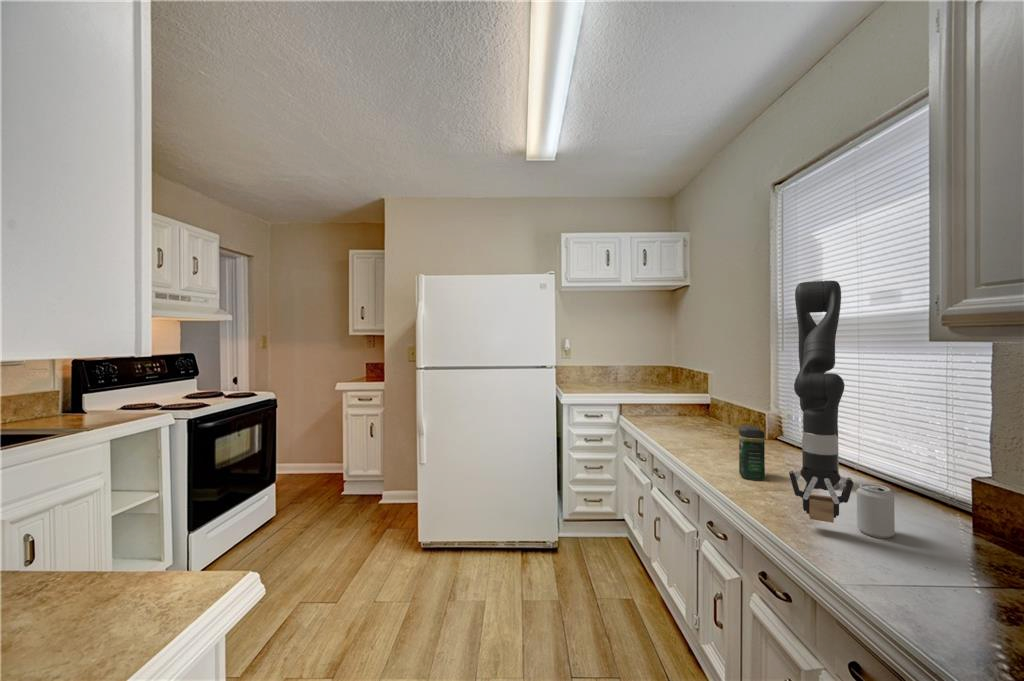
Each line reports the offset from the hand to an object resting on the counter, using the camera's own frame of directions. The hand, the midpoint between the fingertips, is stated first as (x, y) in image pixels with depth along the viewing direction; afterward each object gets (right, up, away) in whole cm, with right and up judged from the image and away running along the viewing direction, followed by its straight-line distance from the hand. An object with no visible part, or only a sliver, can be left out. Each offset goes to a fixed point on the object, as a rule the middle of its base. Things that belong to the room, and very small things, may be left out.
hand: (820, 514), depth 113 cm
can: (+13, -4, -1) cm, 14 cm away
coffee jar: (+7, -5, +45) cm, 46 cm away
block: (0, -1, 0) cm, 1 cm away
